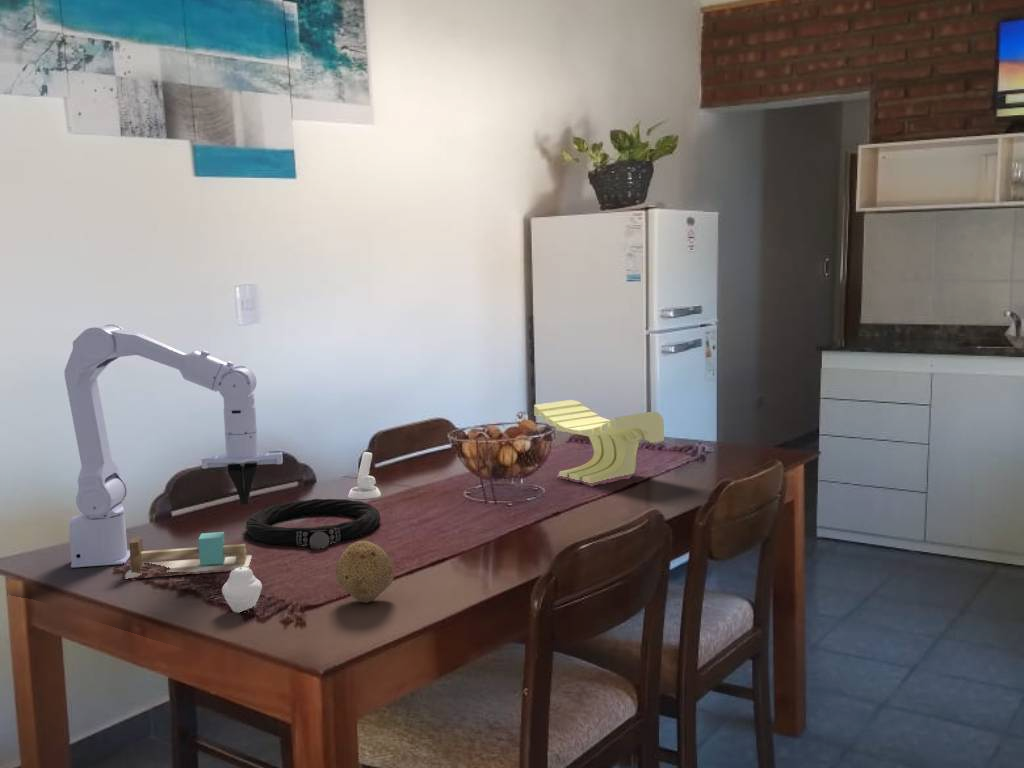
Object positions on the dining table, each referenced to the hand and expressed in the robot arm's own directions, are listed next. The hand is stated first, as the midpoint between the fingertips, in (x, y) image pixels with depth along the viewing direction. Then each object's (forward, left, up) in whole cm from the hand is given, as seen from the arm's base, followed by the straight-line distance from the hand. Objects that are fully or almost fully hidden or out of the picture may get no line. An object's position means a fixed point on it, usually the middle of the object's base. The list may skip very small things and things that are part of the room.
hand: (245, 503), depth 183 cm
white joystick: (+23, +43, -10) cm, 50 cm away
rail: (-10, -7, -10) cm, 15 cm away
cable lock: (+12, +15, -10) cm, 22 cm away
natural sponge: (+21, -32, -10) cm, 40 cm away
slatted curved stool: (+81, +46, -10) cm, 94 cm away
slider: (-6, -7, -9) cm, 12 cm away
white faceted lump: (+2, -31, -10) cm, 33 cm away
